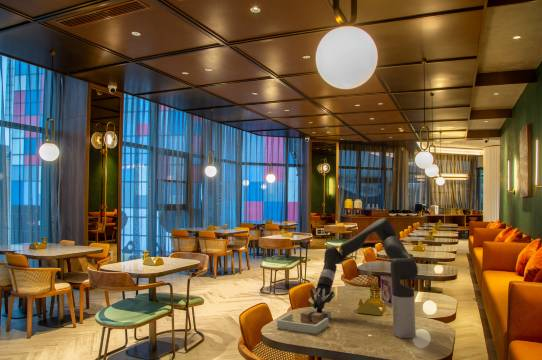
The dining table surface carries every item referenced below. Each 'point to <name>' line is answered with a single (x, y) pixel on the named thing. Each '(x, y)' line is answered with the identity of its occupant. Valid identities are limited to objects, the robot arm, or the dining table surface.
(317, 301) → the scraper
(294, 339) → the dining table surface
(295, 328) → the tray
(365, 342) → the dining table surface
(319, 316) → the walnut block
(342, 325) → the dining table surface
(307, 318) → the walnut block
